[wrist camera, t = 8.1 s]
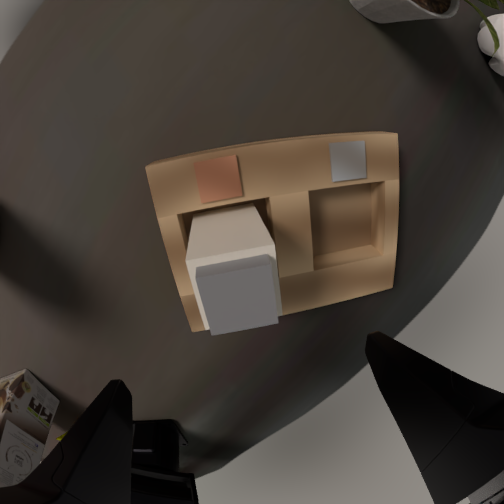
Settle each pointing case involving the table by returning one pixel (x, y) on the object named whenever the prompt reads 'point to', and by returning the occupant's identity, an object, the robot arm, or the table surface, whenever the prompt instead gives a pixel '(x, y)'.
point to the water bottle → (500, 61)
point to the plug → (233, 269)
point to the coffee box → (23, 425)
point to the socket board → (293, 211)
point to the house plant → (418, 11)
